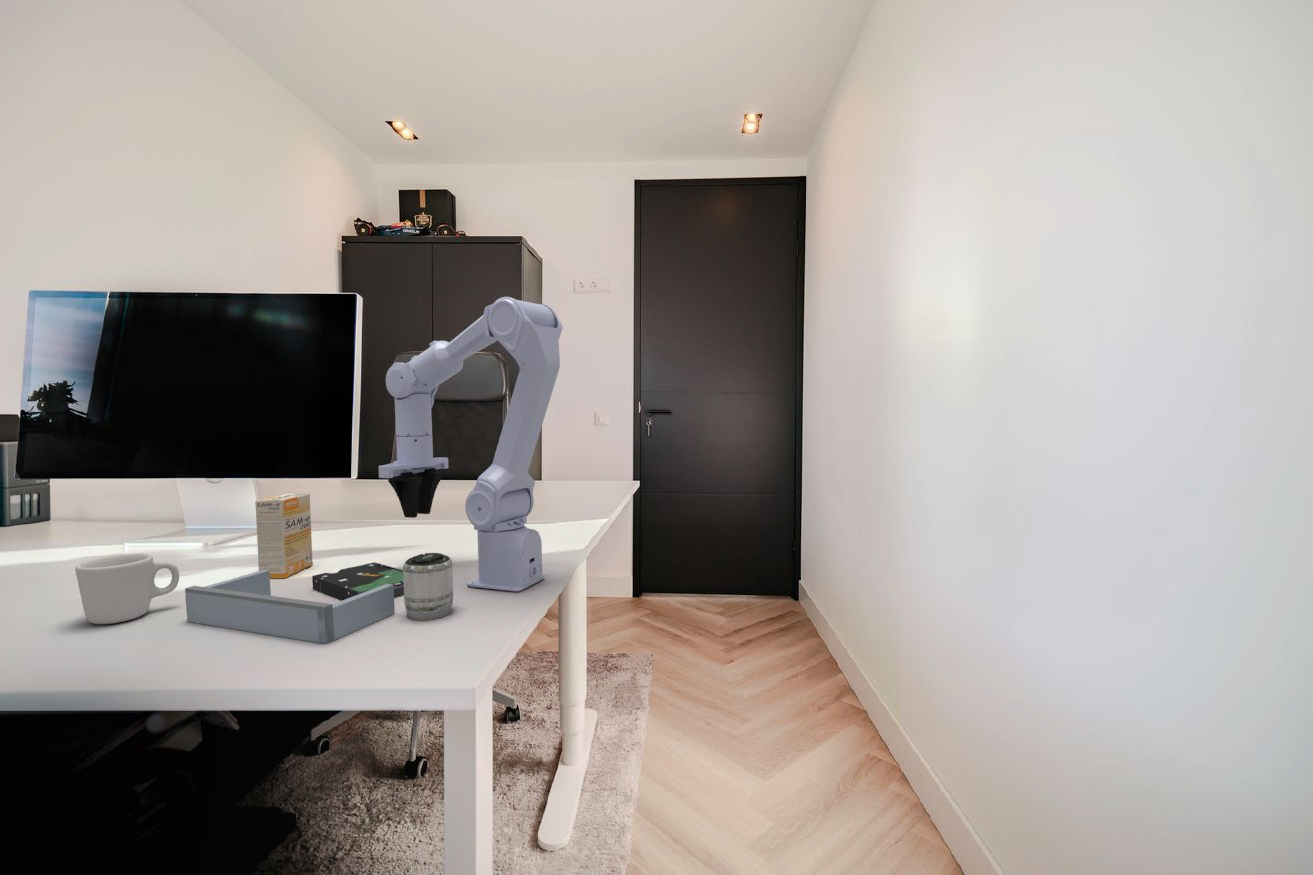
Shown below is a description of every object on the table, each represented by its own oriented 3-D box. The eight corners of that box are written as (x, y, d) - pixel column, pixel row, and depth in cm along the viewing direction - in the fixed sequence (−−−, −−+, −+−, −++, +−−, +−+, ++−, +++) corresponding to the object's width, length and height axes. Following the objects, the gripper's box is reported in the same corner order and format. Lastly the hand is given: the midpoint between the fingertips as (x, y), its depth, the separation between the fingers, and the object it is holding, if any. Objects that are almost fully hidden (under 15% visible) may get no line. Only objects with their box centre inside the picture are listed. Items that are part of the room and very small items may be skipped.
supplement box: (287, 578, 104) (282, 499, 103) (257, 579, 104) (253, 500, 103) (314, 565, 112) (311, 492, 111) (287, 565, 112) (283, 492, 111)
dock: (394, 613, 86) (393, 581, 86) (325, 643, 76) (324, 607, 75) (265, 596, 95) (263, 566, 94) (187, 621, 84) (185, 588, 84)
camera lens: (394, 618, 84) (392, 560, 84) (426, 603, 90) (424, 549, 90) (433, 623, 82) (430, 563, 82) (463, 608, 88) (461, 552, 88)
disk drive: (310, 593, 98) (359, 610, 89) (309, 575, 98) (358, 591, 89) (375, 577, 106) (425, 592, 97) (374, 561, 106) (425, 574, 97)
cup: (176, 600, 93) (173, 546, 93) (185, 612, 88) (182, 556, 87) (77, 618, 86) (73, 560, 85) (81, 634, 80) (76, 571, 80)
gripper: (424, 432, 115) (427, 507, 116) (362, 438, 101) (365, 522, 102) (456, 433, 112) (459, 508, 113) (397, 438, 99) (400, 524, 100)
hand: (417, 515), depth 108 cm, fingers open, 3 cm apart
